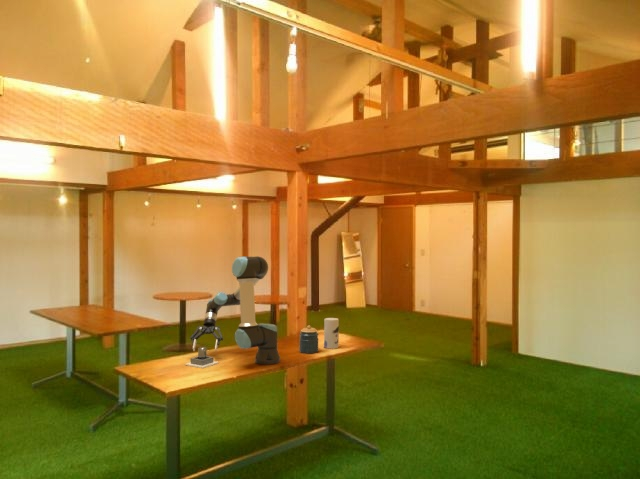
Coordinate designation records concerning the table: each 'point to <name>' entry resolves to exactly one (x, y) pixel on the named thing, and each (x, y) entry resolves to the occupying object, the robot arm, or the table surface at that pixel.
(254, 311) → the robot arm
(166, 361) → the table surface
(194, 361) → the square socket
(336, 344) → the container
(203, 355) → the glossy bronze cylinder
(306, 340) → the canister
